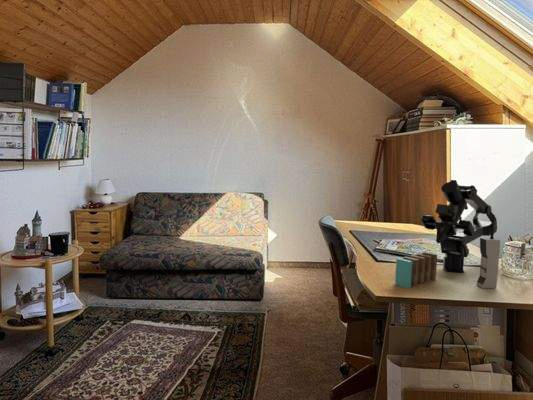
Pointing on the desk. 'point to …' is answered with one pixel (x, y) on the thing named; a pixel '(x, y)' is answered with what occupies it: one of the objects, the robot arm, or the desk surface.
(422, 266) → the domino
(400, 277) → the domino
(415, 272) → the domino
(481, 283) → the vintage mobile phone
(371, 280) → the desk surface
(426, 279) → the domino
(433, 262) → the domino
